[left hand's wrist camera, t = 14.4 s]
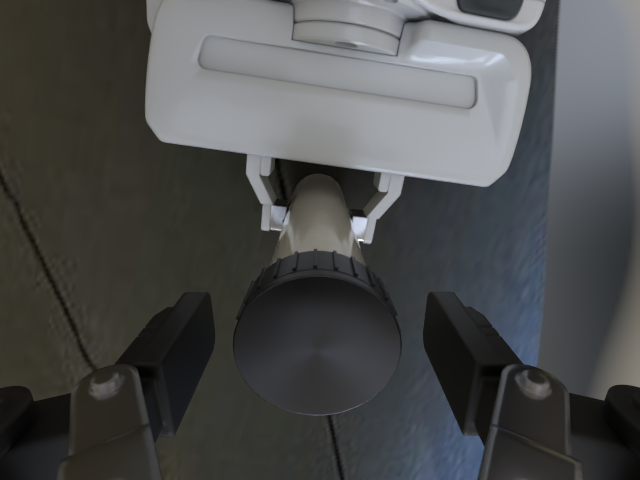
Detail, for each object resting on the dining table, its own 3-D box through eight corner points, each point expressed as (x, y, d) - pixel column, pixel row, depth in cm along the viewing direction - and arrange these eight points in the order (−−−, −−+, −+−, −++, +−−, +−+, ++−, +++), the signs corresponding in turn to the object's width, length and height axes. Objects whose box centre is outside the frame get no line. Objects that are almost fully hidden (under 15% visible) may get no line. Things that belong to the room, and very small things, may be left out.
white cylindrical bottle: (282, 201, 28) (220, 348, 10) (314, 162, 27) (308, 251, 9) (321, 233, 29) (324, 416, 11) (354, 196, 28) (415, 334, 10)
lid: (214, 324, 12) (195, 360, 10) (307, 216, 10) (305, 236, 9) (325, 397, 13) (326, 442, 11) (422, 308, 11) (441, 342, 10)
